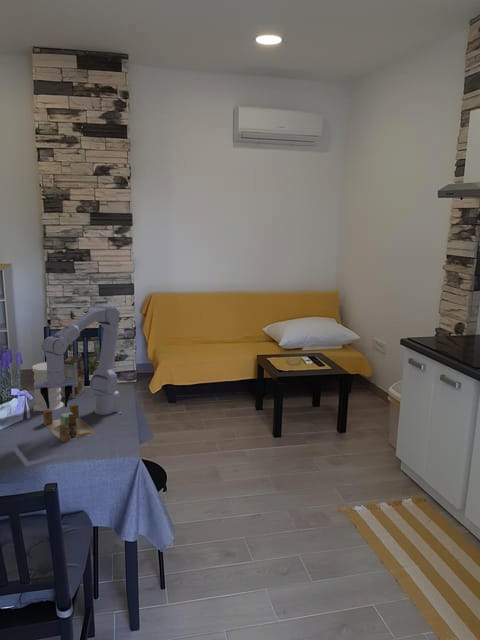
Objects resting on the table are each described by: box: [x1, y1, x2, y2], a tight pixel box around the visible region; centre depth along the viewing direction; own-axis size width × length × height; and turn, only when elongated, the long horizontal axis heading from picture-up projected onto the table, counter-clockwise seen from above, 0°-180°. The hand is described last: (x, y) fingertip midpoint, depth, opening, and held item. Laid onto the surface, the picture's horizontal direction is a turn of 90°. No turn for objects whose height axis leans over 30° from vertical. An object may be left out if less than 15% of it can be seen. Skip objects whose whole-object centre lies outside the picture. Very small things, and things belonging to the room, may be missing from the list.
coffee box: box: [61, 355, 85, 399], centre depth 217 cm, size 9×6×16 cm
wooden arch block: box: [69, 414, 76, 436], centre depth 178 cm, size 7×2×5 cm, turn 19°
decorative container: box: [31, 361, 65, 412], centre depth 200 cm, size 12×12×18 cm
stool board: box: [42, 403, 98, 443], centre depth 181 cm, size 13×20×6 cm, turn 39°
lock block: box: [60, 411, 73, 426], centre depth 184 cm, size 4×4×4 cm
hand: (57, 406), depth 177 cm, fingers open, 5 cm apart
